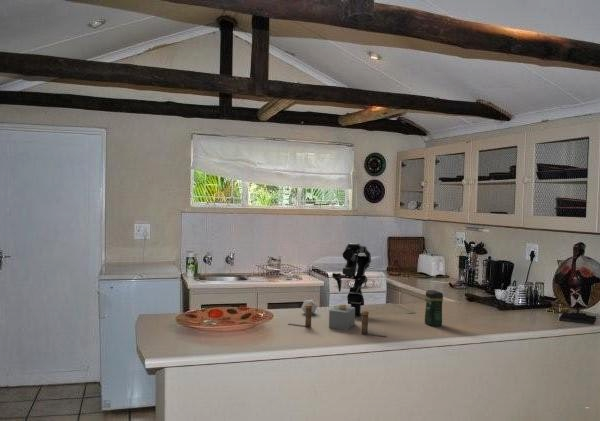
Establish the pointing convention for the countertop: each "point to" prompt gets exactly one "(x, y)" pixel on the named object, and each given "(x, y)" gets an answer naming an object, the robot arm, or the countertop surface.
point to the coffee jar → (433, 308)
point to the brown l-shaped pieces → (364, 321)
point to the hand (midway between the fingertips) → (347, 292)
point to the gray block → (342, 317)
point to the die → (309, 302)
